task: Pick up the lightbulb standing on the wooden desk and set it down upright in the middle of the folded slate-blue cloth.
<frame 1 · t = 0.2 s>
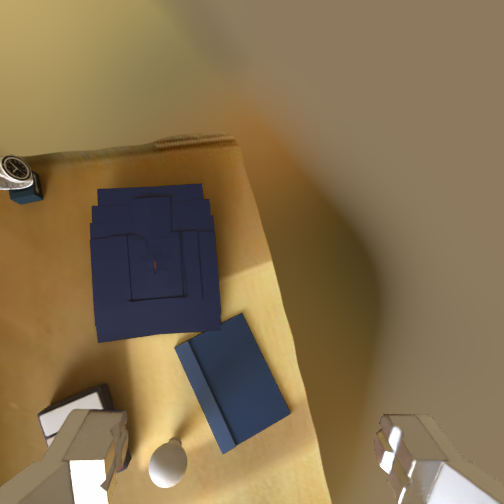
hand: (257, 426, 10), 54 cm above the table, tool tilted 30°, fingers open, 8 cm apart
watch: (30, 189, 63), on the table
lightbulb: (175, 441, 58), on the table
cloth: (232, 380, 61), on the table
button panel: (90, 432, 57), on the table
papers: (158, 262, 63), on the table, touching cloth
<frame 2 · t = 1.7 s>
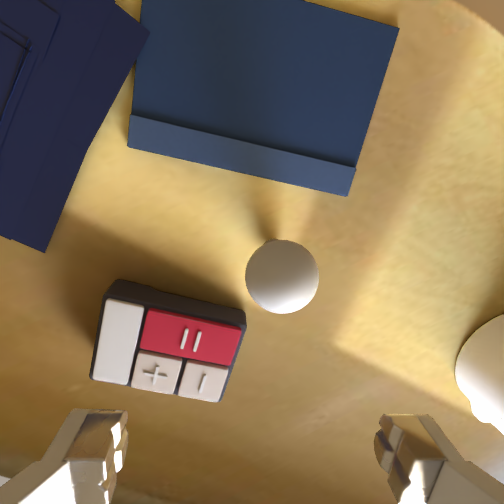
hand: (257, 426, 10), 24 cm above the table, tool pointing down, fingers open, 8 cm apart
lightbulb: (272, 247, 33), on the table
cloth: (257, 90, 28), on the table
button panel: (173, 333, 36), on the table
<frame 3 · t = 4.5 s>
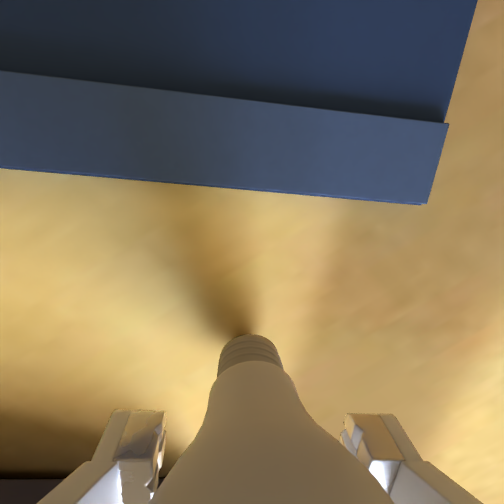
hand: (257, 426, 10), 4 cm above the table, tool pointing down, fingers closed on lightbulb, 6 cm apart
lightbulb: (247, 345, 14), on the table, touching gripper
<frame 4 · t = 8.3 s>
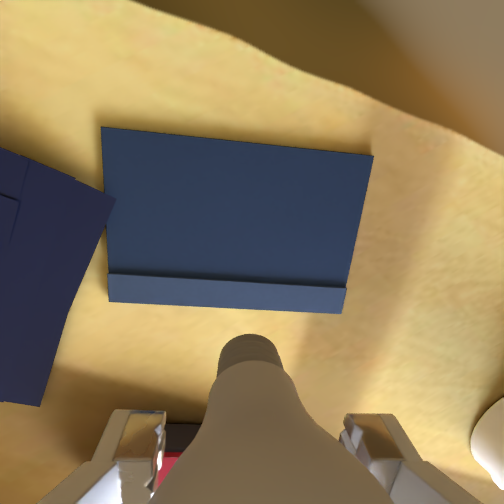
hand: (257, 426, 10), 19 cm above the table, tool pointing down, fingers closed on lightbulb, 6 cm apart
lightbulb: (247, 344, 14), point 15 cm above the table, touching gripper
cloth: (235, 230, 27), on the table
button panel: (182, 454, 36), on the table
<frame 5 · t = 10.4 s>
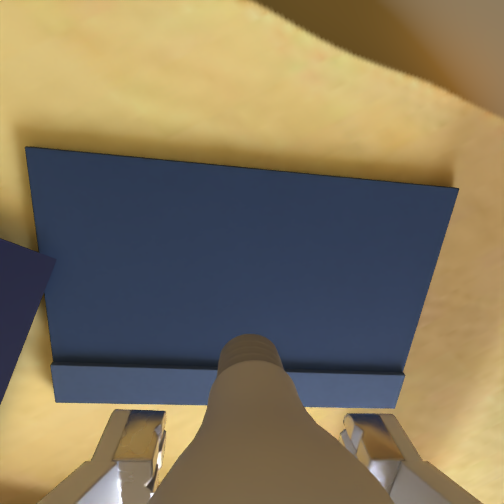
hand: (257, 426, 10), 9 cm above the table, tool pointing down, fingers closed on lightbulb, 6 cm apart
lightbulb: (247, 344, 14), point 4 cm above the table, touching gripper
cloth: (244, 298, 18), on the table
when the fingers open (4 cm above the table, at t = 12.0 s): lightbulb stays where it is, resting on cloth.
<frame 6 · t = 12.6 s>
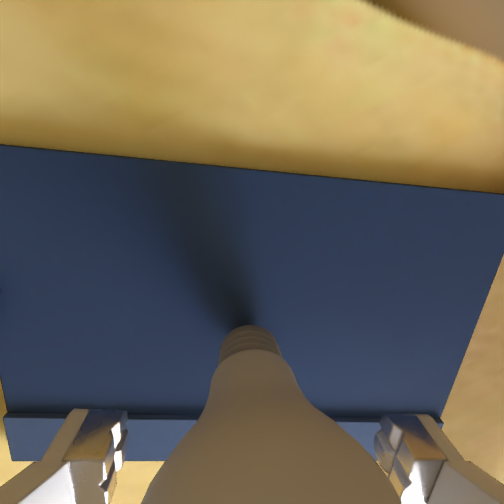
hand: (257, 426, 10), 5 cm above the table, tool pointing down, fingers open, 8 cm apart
lightbulb: (247, 336, 14), resting on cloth
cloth: (247, 333, 14), on the table
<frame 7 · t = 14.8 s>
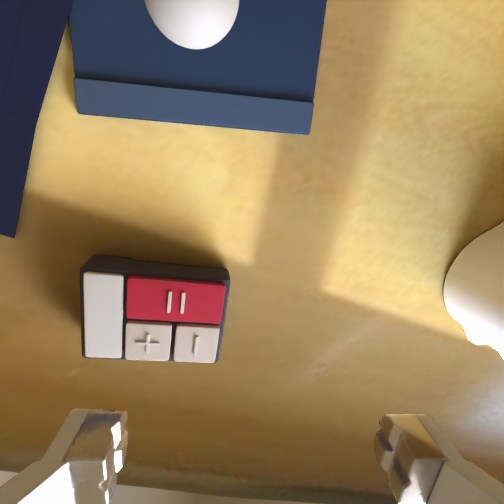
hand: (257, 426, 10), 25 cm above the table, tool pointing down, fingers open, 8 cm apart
lightbulb: (200, 34, 27), resting on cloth
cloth: (200, 35, 27), on the table
button panel: (160, 303, 36), on the table
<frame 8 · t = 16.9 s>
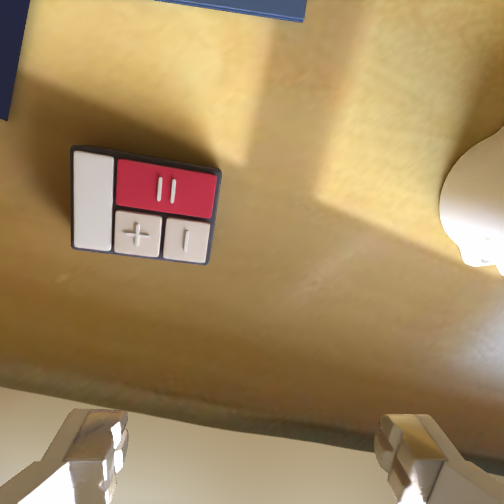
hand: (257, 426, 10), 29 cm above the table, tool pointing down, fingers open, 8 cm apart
button panel: (152, 204, 36), on the table
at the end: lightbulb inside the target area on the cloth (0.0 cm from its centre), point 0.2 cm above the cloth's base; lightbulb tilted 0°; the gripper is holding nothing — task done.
